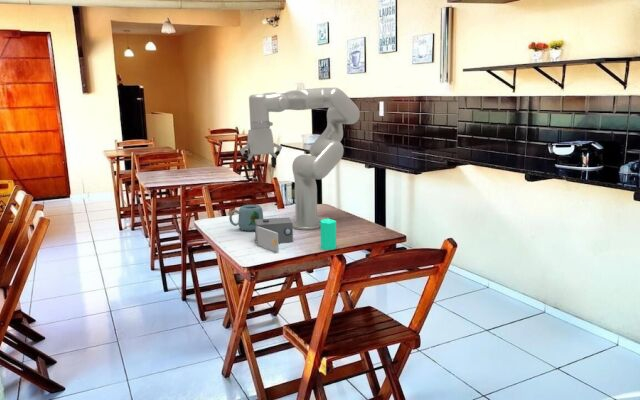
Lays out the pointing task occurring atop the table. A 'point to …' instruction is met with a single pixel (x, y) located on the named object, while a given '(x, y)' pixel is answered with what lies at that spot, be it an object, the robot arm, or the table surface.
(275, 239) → the side door
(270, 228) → the camera body
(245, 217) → the mug
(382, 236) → the table surface
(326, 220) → the candle
